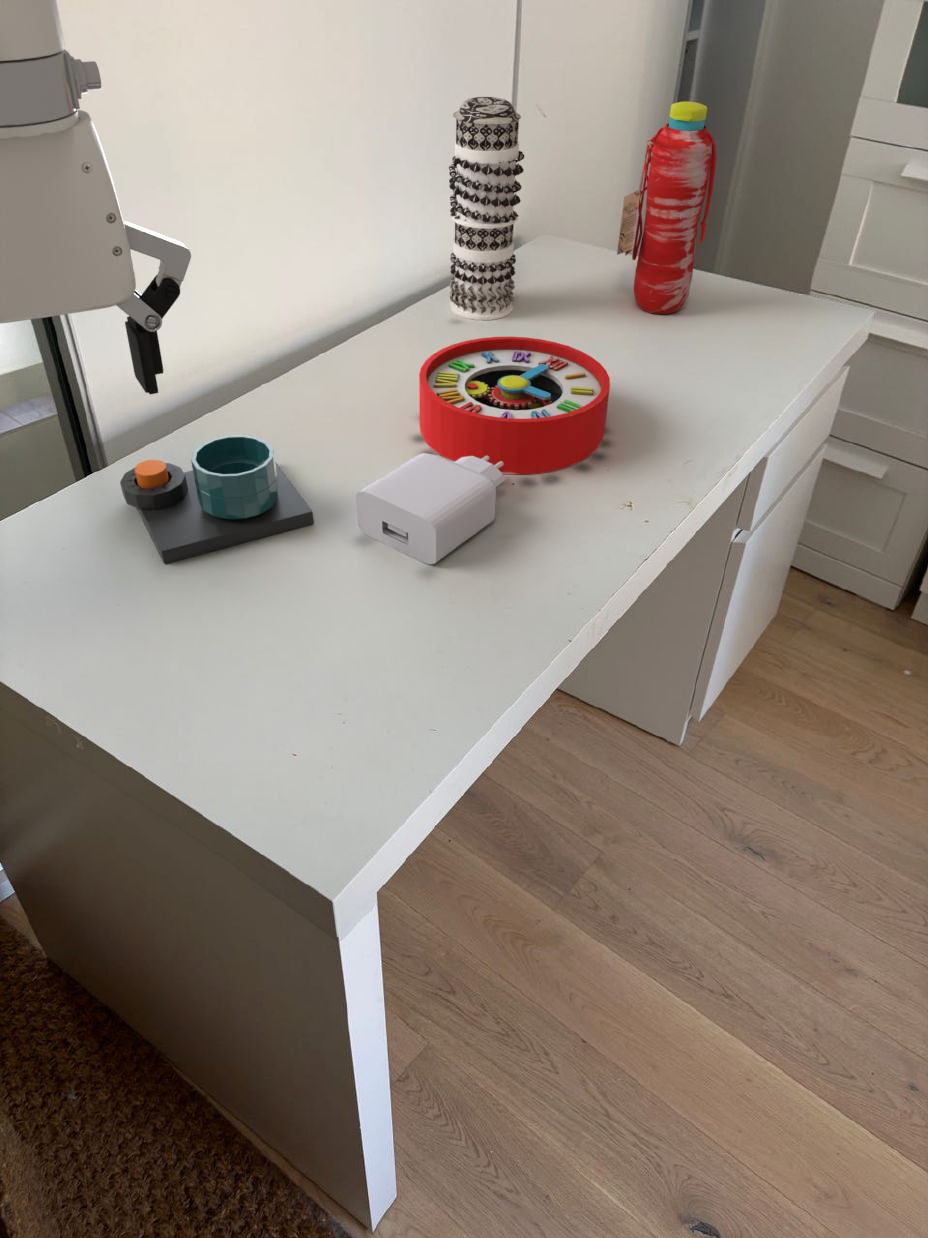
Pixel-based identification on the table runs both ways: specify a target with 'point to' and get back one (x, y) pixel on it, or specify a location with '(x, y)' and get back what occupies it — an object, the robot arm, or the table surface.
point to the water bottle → (670, 209)
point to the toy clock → (513, 403)
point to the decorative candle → (484, 207)
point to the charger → (430, 504)
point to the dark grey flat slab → (206, 516)
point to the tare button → (151, 474)
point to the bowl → (235, 476)
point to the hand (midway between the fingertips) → (69, 399)
